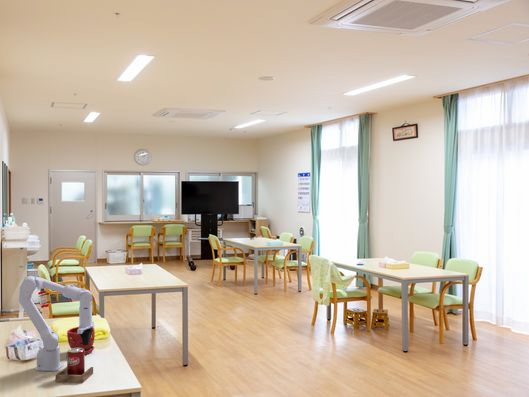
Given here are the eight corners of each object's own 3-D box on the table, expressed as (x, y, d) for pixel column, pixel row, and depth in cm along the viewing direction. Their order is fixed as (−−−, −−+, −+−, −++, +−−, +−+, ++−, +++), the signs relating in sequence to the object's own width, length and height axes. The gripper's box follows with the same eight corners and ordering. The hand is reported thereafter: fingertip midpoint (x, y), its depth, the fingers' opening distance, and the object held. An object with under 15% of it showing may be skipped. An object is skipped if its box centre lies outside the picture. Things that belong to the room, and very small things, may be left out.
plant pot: (84, 347, 287) (83, 324, 287) (100, 351, 279) (100, 328, 279) (62, 353, 276) (61, 329, 276) (78, 358, 269) (77, 333, 268)
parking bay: (55, 382, 237) (55, 375, 236) (67, 372, 248) (67, 366, 248) (82, 382, 236) (82, 375, 235) (93, 373, 247) (93, 367, 247)
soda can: (75, 380, 238) (75, 353, 238) (63, 378, 242) (63, 350, 241) (88, 375, 245) (88, 348, 244) (76, 373, 248) (76, 346, 248)
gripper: (87, 320, 251) (88, 349, 251) (99, 312, 265) (100, 340, 266) (72, 319, 251) (73, 349, 252) (85, 312, 266) (85, 340, 266)
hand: (86, 344), depth 259 cm, fingers closed
